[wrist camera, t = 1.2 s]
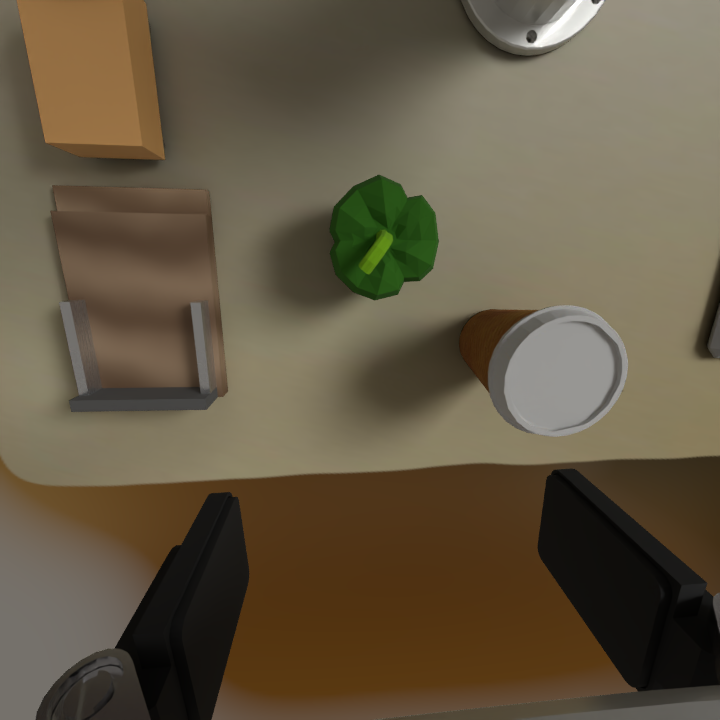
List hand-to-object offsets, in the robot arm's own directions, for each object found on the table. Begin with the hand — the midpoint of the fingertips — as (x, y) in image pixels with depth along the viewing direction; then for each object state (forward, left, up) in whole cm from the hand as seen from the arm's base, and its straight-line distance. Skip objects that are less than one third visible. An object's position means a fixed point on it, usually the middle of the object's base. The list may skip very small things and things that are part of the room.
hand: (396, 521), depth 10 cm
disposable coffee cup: (0, +14, -25) cm, 28 cm away
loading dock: (-4, -18, -25) cm, 31 cm away
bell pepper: (-9, +2, -25) cm, 26 cm away
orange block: (-20, -18, -25) cm, 37 cm away
